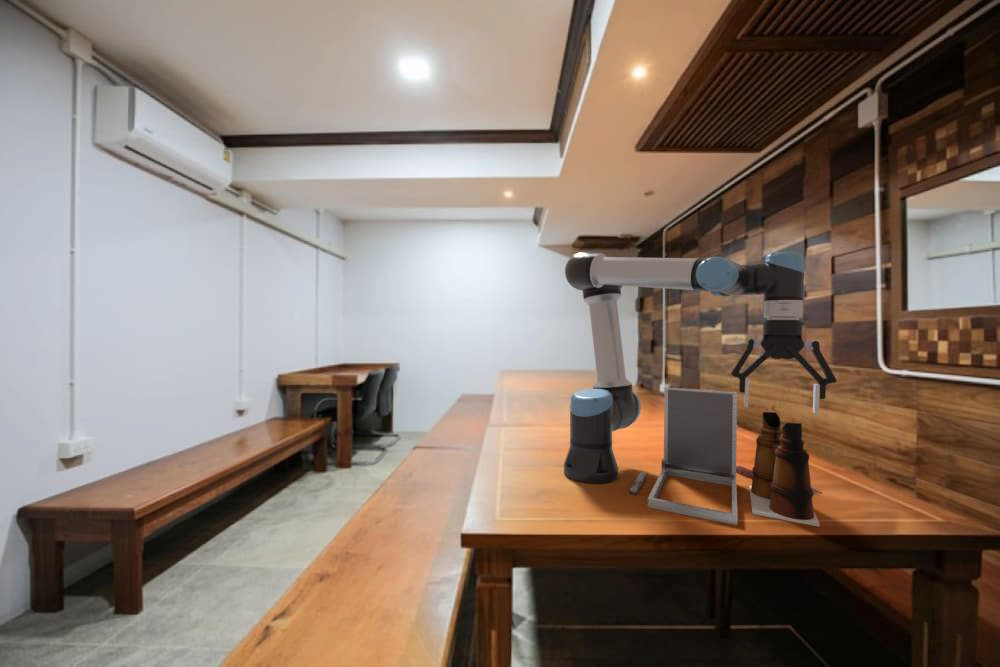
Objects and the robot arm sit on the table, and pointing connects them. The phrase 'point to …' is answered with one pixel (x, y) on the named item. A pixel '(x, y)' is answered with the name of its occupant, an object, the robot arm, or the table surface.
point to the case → (699, 446)
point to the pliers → (749, 474)
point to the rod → (638, 483)
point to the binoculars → (783, 469)
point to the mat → (762, 508)
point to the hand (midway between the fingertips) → (779, 409)
